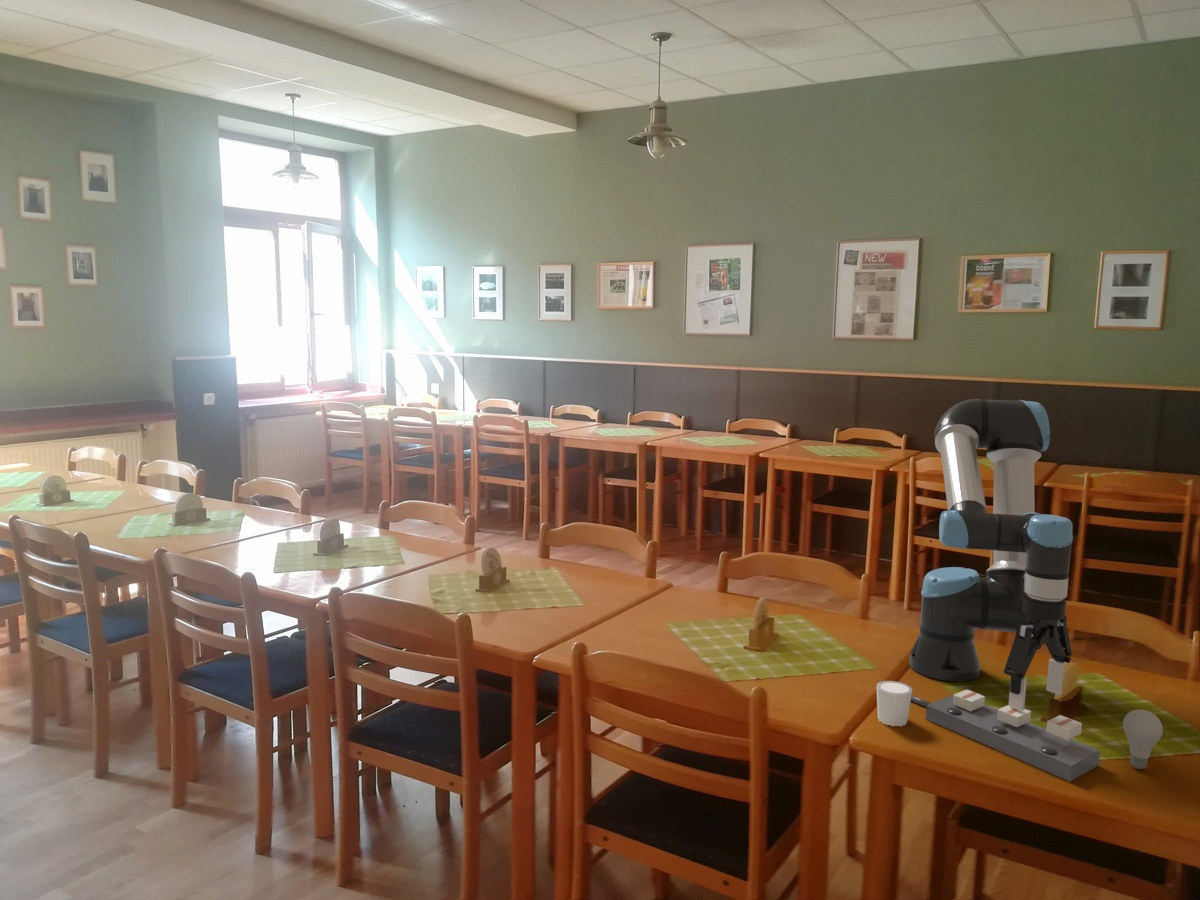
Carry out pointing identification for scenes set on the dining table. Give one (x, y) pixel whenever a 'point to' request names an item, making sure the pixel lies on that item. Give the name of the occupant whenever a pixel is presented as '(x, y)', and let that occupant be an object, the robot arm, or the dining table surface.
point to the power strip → (1015, 738)
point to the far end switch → (1064, 727)
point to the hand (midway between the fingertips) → (1035, 700)
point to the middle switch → (1013, 716)
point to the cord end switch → (968, 700)
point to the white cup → (893, 702)
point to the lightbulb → (1141, 735)
